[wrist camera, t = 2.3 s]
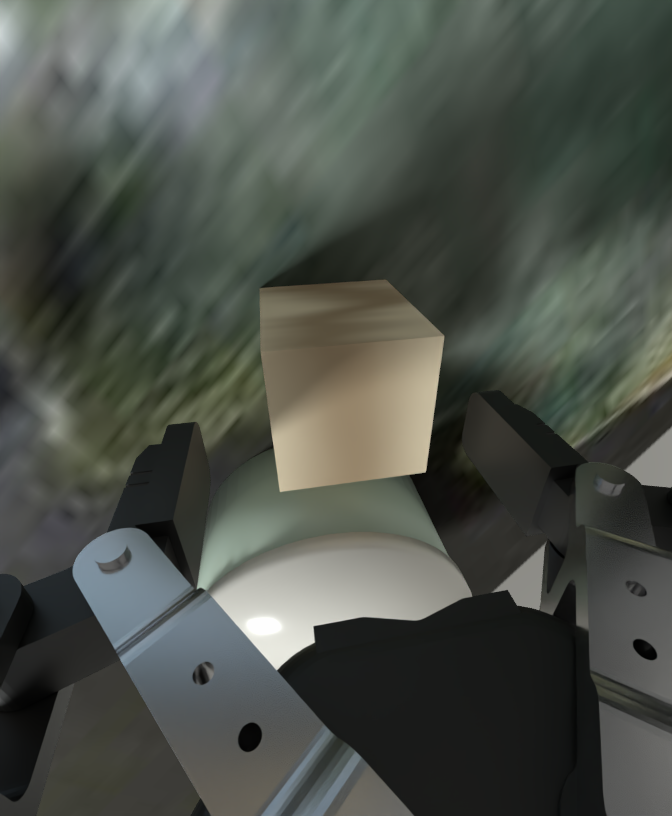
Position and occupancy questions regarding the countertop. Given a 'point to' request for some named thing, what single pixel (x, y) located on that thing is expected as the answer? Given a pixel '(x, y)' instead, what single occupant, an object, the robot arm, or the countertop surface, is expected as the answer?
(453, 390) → the countertop surface
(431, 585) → the round lidded container
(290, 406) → the beech block
